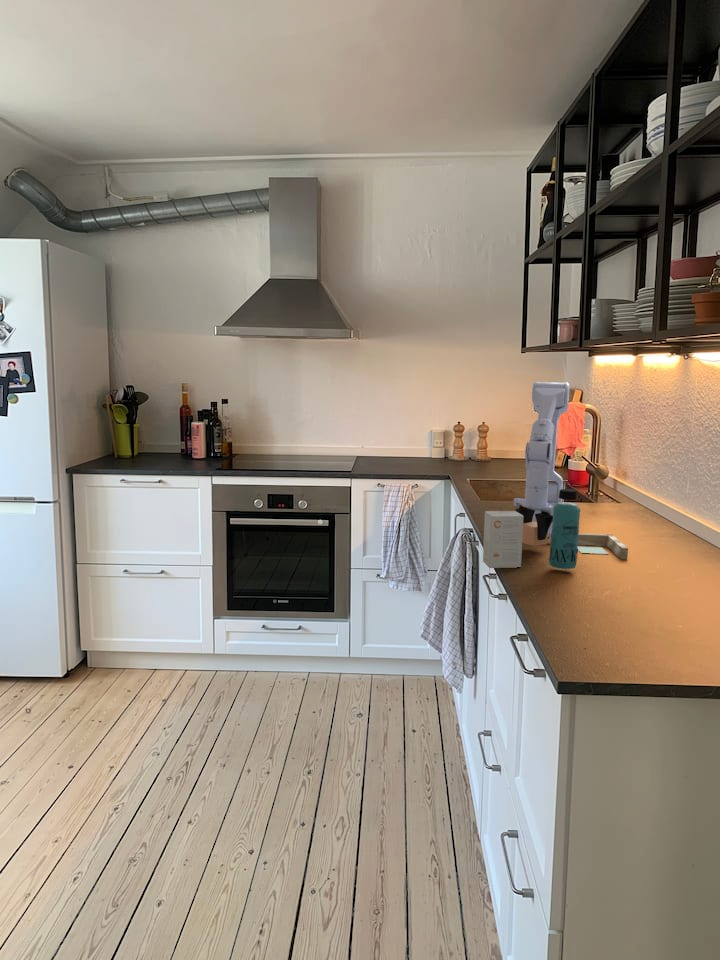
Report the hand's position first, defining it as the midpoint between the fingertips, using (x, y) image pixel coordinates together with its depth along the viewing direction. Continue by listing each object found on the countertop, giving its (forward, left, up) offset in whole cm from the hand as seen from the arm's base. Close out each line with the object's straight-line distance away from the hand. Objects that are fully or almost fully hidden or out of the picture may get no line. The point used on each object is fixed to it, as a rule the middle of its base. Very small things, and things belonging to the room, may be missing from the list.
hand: (533, 537), depth 190 cm
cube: (0, 0, -2) cm, 2 cm away
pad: (-3, +16, -4) cm, 17 cm away
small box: (+14, -10, -4) cm, 18 cm away
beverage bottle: (+18, +4, -4) cm, 19 cm away
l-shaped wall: (-2, +14, -4) cm, 15 cm away
